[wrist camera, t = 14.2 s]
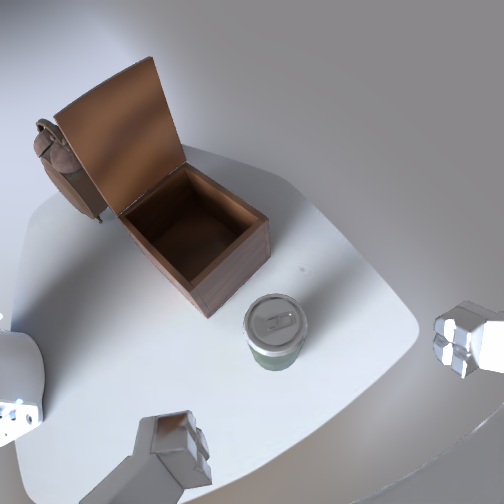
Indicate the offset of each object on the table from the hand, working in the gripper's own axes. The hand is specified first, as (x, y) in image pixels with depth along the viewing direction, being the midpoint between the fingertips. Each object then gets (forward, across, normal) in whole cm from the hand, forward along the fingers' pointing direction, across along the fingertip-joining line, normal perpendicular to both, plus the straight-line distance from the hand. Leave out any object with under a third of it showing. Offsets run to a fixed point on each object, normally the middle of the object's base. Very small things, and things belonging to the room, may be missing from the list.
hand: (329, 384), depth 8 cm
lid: (+26, +8, -15) cm, 31 cm away
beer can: (+24, -1, +13) cm, 27 cm away
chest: (+34, +4, +1) cm, 34 cm away
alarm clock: (+45, +20, -10) cm, 51 cm away
